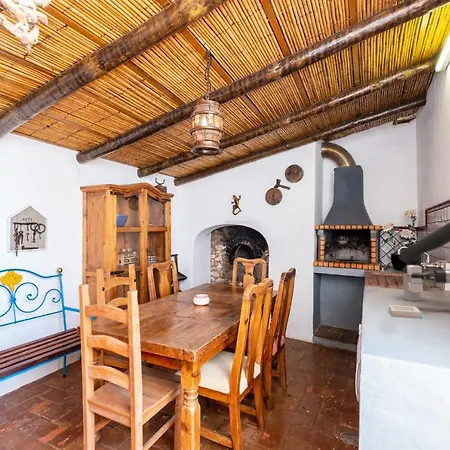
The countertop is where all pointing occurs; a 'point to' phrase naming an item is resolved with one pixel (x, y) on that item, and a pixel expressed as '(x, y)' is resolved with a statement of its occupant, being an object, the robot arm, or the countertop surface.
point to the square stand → (404, 311)
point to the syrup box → (414, 283)
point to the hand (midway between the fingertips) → (410, 275)
